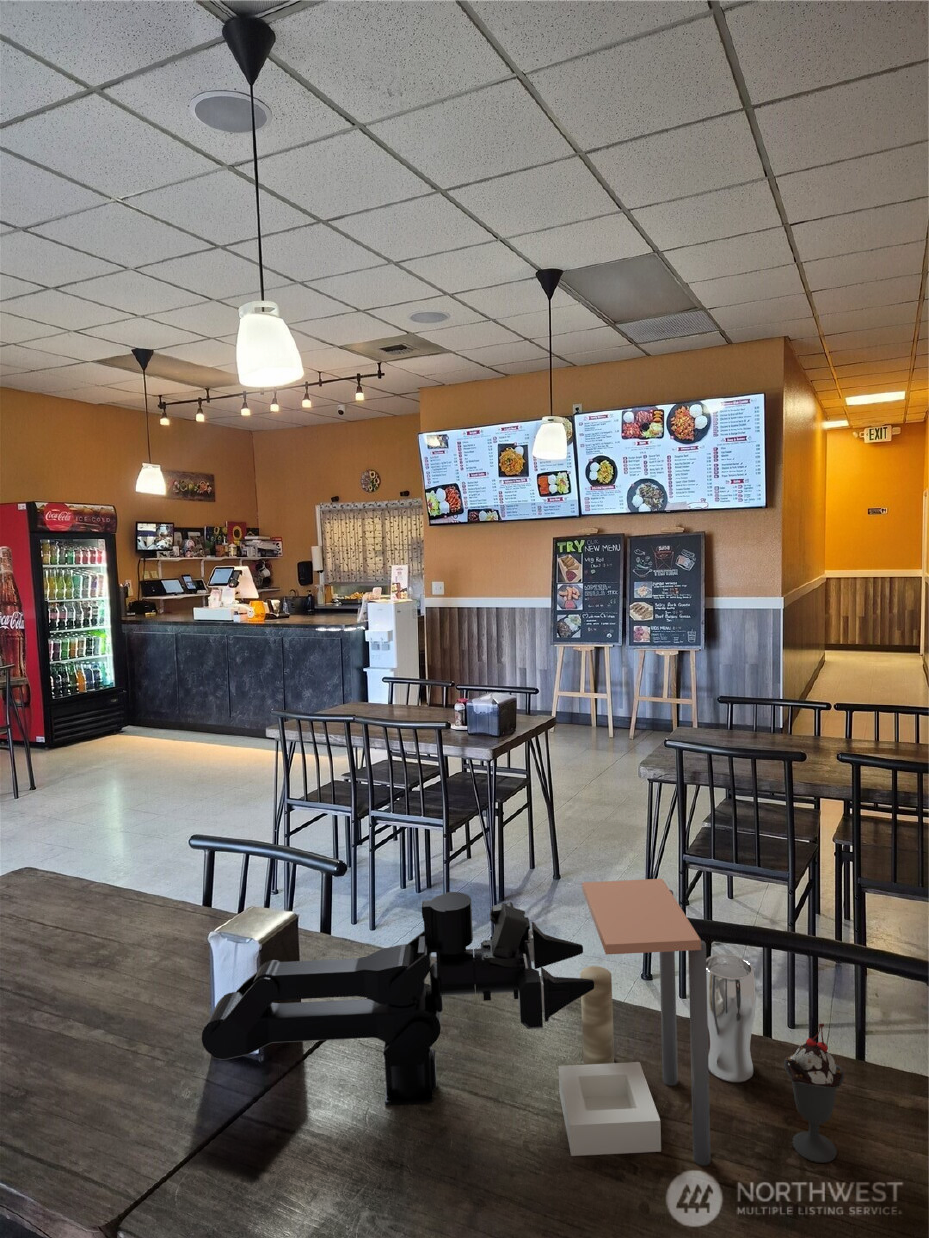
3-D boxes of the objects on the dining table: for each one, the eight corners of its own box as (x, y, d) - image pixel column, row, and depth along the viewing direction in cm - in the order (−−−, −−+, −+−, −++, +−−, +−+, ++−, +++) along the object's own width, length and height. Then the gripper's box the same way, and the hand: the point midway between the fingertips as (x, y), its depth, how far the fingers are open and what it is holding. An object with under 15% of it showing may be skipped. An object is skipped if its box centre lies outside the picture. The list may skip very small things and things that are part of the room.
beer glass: (760, 1086, 106) (759, 981, 105) (707, 1082, 107) (704, 977, 106) (752, 1054, 113) (750, 954, 111) (702, 1050, 114) (700, 951, 113)
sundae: (840, 1132, 97) (839, 1017, 96) (847, 1173, 91) (847, 1051, 90) (783, 1122, 99) (781, 1009, 98) (786, 1161, 93) (785, 1042, 92)
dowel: (585, 1071, 111) (582, 983, 110) (581, 1051, 115) (578, 966, 114) (617, 1069, 111) (614, 981, 110) (610, 1050, 115) (608, 965, 114)
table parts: (574, 1175, 92) (566, 946, 90) (556, 1078, 109) (549, 883, 107) (714, 1168, 93) (709, 939, 90) (674, 1072, 109) (669, 878, 107)
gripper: (473, 949, 97) (598, 943, 98) (471, 885, 116) (576, 880, 116) (477, 1034, 98) (601, 1028, 98) (474, 957, 117) (578, 952, 117)
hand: (588, 965), depth 107 cm, fingers open, 9 cm apart
